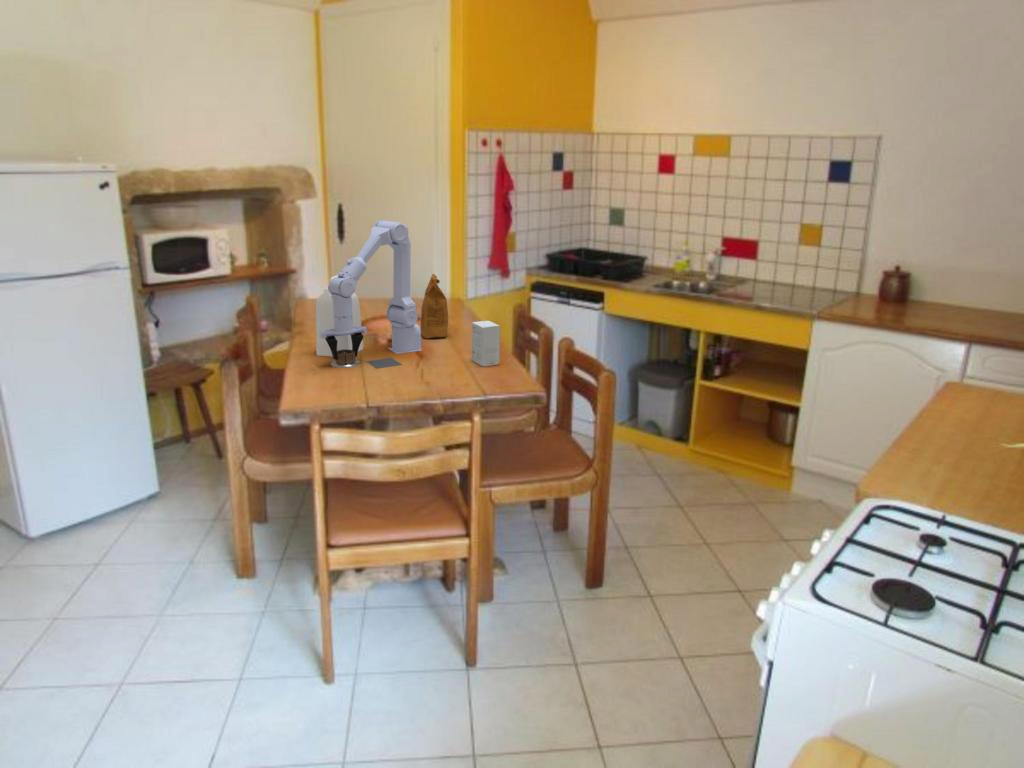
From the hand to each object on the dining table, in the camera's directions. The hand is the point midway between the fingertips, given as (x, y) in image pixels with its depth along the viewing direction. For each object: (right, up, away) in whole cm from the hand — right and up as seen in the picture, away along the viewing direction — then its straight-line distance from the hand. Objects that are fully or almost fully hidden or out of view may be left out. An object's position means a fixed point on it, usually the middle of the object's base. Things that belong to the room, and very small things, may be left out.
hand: (345, 357), depth 237 cm
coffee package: (+24, +9, +39) cm, 47 cm away
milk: (-5, +2, +14) cm, 15 cm away
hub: (0, -2, +1) cm, 3 cm away
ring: (0, -2, 0) cm, 2 cm away
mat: (+12, -2, +2) cm, 12 cm away
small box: (+44, -2, +7) cm, 45 cm away
